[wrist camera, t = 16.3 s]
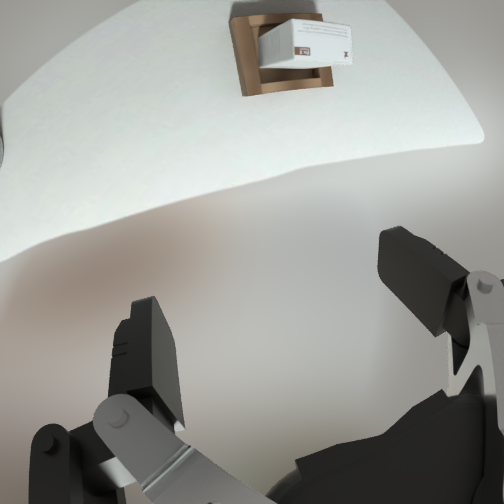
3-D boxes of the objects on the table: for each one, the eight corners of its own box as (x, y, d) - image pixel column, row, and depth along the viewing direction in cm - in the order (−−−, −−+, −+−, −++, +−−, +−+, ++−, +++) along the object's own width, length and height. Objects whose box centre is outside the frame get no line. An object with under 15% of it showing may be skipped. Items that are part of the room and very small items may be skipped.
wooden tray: (242, 96, 34) (248, 96, 31) (228, 23, 29) (233, 17, 26) (322, 86, 35) (333, 86, 33) (311, 18, 30) (321, 13, 28)
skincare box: (302, 39, 31) (354, 22, 21) (304, 71, 33) (356, 65, 23) (254, 37, 30) (291, 13, 19) (256, 70, 32) (294, 60, 22)
